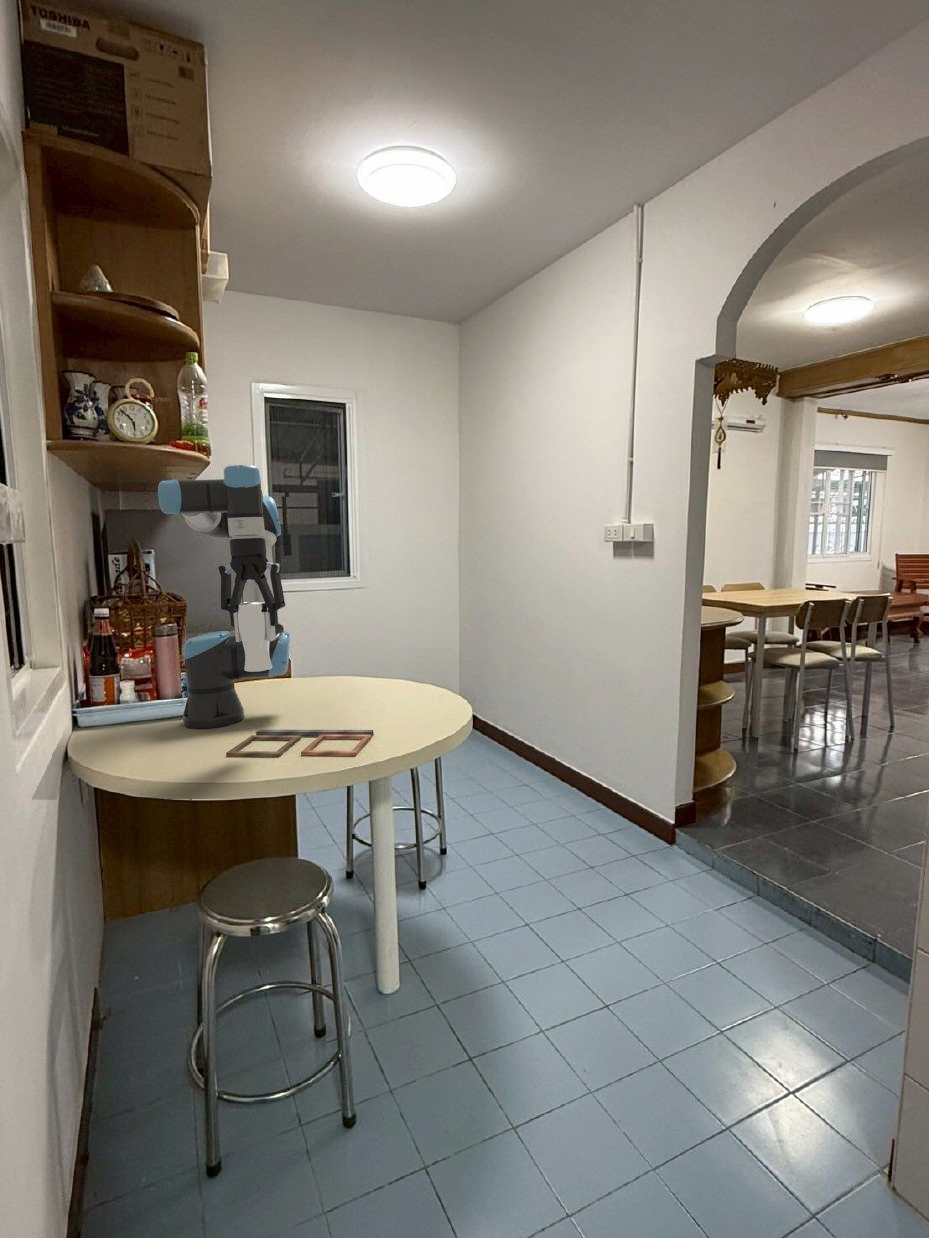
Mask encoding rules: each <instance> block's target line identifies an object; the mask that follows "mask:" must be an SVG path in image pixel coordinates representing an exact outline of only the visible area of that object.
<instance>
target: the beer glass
mask: <svg viewBox="0 0 929 1238" xmlns="http://www.w3.org/2000/svg"><path fill="white" fill-rule="evenodd" d="M237 606H238V628H239V633H240V637H241V641H242V644H243V648H244V653H245V664H244V670H245V671H247V672H258V671H265V670H269V669H271V668H272V664H271V660H270V655H269V643H270V641H267V629H266V617H265V612H268V611H267V610H268V608H267V606H266V603H265V601H257V602H245V603H243V602H241V603H239V604H237Z"/></svg>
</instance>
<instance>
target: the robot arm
mask: <svg viewBox="0 0 929 1238" xmlns="http://www.w3.org/2000/svg"><path fill="white" fill-rule="evenodd" d="M261 483H262V479H261V473H260V469H259V468H258V467H257V466H256V465H249V464H233V465H227V466H225V467H224V469H223V479H222V478H221V479H220V478H219V479H218V478H216V479H184V480H183V479H169V480H161V481H160V482H159V483H158V486H157V496H158V502H159V503H158V504H159V508H160V510H161V512H162V513H163V514H165V515H175V516H176V515H182V516H183V518H184V521H185V523H186V525H188V527H189V528H191V529H192V530H193V531H195V532H197V533H200V534H202V535H205V536H208V537H213V538H220V539H221V538H222V539H223V538H224V539H226V538H228V539H229V538H231V539H230V540H229V550H230V551H229V552H230V557H231V560H230V563H228V564H225V565H219V566H218V571H219V574H220V609H221V610H222V611H227V612H228V613H229V616H230V617H229V618H230V625H231V627H233V628H234V633H235V636H234V635H233V636H232V635H231V633H230V631H229V630H221V631H214V632H213V631H212V632H208V633H204V634H200V635H196V636H193V637H190V638H188V639H187V640H186V641H185V642H184V644H183V660H184V668H185V677H186V687H187V700H186V702H185V707H184V711H183V715H182V720H183V721H182V722H183V726H185V728H189V729H211V728H219V727H224V726H229V725H232V724H236V723H238V722H240V721H242V720H243V719H244V718H245V712H244V706H243V704H242V703H241V700H240V697H239V695H238V694H237V691H236V687H235V680H236V681H237V680H247V679H258V678H259V679H260V678H271V677H275V676H283V675H285V674H286V673H287V672H288V669H289V659H290V642H291V641H290V640H291V639H290V637H291V636H290V632H288V631H285V630H284V625H283V624H282V623H280V622H279V616H278V615H279V614H278V611H279V610H280V609H282V608H285V607H286V601H285V596H284V590H283V584H282V579H281V569H282V565H281V563H274V561H273V546H274V545H275V543H276V542H277V537H279V536H281V535H282V529H281V527H282V526H281V522H280V517H279V512H278V508H277V504H276V501H275V499H274V498H273V497H272V496H268V495H263V490H262V484H261ZM232 572H234V573H235V579H234V586H233V590H232ZM242 601H243V602H242ZM257 601H265V603H266V606H267V608H268V610H267V611H268V612H265V617H266V629H267V641H270V643H269V655H270V660H271V664H272V668H271V669H269V670H265V671H258V672H247V671H245V670H244V664H245V653H244V648H243V644H242V641H241V637H240V633H239V628H238V606H237V604H239V603H245V602H257Z"/></svg>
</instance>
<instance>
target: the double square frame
mask: <svg viewBox="0 0 929 1238" xmlns="http://www.w3.org/2000/svg"><path fill="white" fill-rule="evenodd" d="M301 736H319V737H316V738H315V739H314V740H313V741H312V742H310V743H309V744H308V745H307V746H306V747H305V748H304V749H303V750H302V751H300V756H301V755H314V757H320V756H321V757H326V756H327V757H356V756H357V755H358V754H359V753H360V752H361V751H362V750H363V748H364V747H366V745H367V744H368V743H369V742H370V741H371V740H372V738H373V736H374V729H256V731H255V735H254V734H253V735H250V736H249V737H247V738H245V740H242V741H241V742H240V743H237V745H235V746H234V747H233V748H231V749H229V750H228V751H227V752H226V753H225V755H226V757H234V758H235V757H237V758H238V757H245V758H246V757H248V758H250V757H252V758H257V757H258V758H261V757H262V758H264V757H265V758H280V757H281V756H282V755H284V754H285V753H286V752H287V751H288V750H289V748H290V747H291V746H292V747H293V746H295V745H296V744H297V743H298V742H299V741H300V740H302V737H301ZM350 739H360V741H359V742H358V743H357V744H356V745H355V747H353V748H352V750H328V749H327V750H324V749H323V750H322V749H321V750H318V749H315V748H316V747H317V746H319V745H320V744H321V743H322V742H323V741H324V740H350ZM361 739H362V740H361ZM252 741H253V742H254V741H287V742H286V743H285V744H284V745H282V746H281V747H280V748H279V749H277V750H276V751H265V750H264V751H263V750H262V751H261V750H260V751H257V750H254V751H253V750H250V751H248V750H246V751H245V750H243V749H245V748H246V747H247V746H249V745H250V744H251V743H252ZM297 741H298V742H297ZM321 741H322V742H321ZM368 741H369V742H368ZM296 742H297V743H296ZM320 742H321V743H320ZM295 743H296V744H295ZM319 743H320V744H319ZM318 744H319V745H318ZM245 746H246V747H245ZM315 746H316V747H315ZM292 747H291V748H292ZM314 747H315V748H314ZM291 748H290V749H291ZM241 750H242V751H241ZM284 752H285V753H284ZM283 753H284V754H283Z"/></svg>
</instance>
